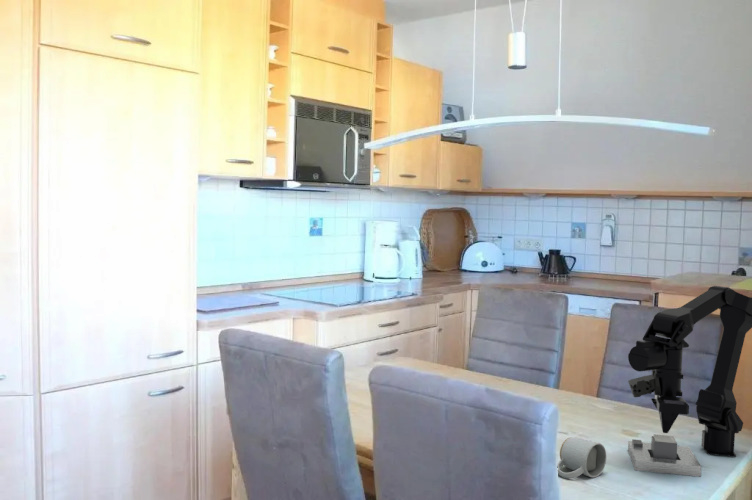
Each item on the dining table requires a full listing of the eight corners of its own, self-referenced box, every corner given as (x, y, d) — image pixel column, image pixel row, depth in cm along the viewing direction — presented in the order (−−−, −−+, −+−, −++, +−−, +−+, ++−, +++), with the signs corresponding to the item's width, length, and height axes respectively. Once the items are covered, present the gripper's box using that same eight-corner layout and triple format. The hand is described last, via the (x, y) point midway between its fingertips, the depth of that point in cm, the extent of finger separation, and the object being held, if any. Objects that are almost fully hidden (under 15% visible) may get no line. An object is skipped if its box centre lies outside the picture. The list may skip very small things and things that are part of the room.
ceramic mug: (576, 462, 165) (577, 430, 165) (606, 473, 159) (607, 440, 158) (547, 473, 159) (548, 440, 158) (577, 485, 152) (578, 450, 152)
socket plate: (688, 456, 171) (689, 443, 170) (700, 476, 158) (701, 462, 158) (627, 450, 174) (628, 438, 173) (635, 470, 161) (635, 456, 161)
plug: (672, 462, 166) (674, 435, 166) (675, 469, 162) (677, 441, 162) (650, 460, 167) (651, 433, 167) (653, 466, 164) (654, 439, 163)
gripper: (626, 356, 174) (624, 417, 175) (637, 374, 156) (634, 442, 157) (674, 359, 172) (671, 421, 173) (691, 377, 153) (687, 447, 155)
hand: (665, 432), depth 164 cm, fingers closed
